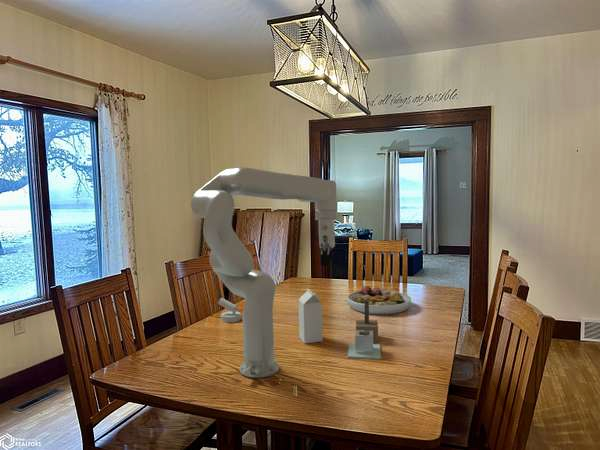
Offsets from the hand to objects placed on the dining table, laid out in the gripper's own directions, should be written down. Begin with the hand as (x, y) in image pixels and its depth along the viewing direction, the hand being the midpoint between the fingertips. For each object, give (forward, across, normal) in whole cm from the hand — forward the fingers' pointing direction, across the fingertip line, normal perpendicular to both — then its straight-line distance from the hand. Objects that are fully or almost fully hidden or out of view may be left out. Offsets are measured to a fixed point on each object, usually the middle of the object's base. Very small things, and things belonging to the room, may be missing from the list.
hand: (326, 263), depth 150 cm
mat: (+30, -4, -13) cm, 33 cm away
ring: (+30, -4, -13) cm, 33 cm away
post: (+30, +9, -14) cm, 35 cm away
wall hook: (+31, +28, +46) cm, 62 cm away
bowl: (+31, +53, -20) cm, 65 cm away
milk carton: (+31, +6, +7) cm, 32 cm away
